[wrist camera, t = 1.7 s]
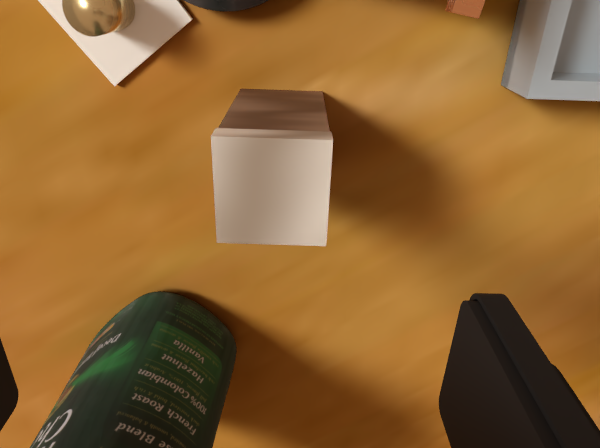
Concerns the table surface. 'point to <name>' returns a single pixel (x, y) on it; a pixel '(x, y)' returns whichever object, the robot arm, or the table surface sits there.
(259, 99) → the block
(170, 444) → the coffee jar
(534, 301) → the table surface
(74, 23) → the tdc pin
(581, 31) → the tray
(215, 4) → the hub
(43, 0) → the plate
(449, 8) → the crank
